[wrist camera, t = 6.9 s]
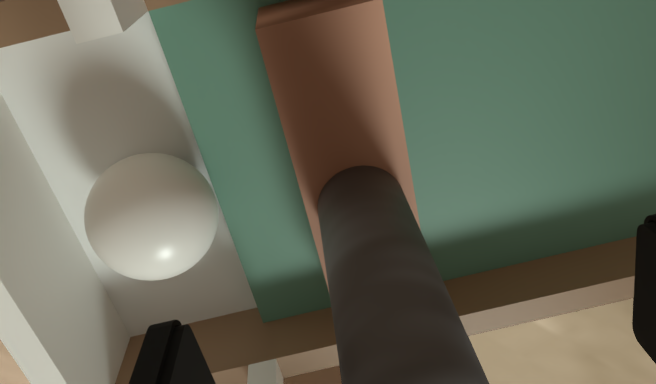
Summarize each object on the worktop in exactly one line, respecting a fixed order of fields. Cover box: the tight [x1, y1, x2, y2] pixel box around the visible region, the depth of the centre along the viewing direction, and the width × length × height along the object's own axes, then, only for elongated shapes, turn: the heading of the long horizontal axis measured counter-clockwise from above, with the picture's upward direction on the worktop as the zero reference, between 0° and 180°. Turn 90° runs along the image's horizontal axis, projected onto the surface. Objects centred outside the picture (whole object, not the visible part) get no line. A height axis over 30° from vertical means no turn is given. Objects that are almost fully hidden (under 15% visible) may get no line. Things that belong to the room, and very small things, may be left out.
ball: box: [84, 153, 218, 281], centre depth 17 cm, size 4×4×4 cm
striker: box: [255, 0, 489, 384], centre depth 13 cm, size 3×10×10 cm, turn 13°
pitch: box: [0, 0, 656, 384], centre depth 17 cm, size 23×14×6 cm, turn 102°
